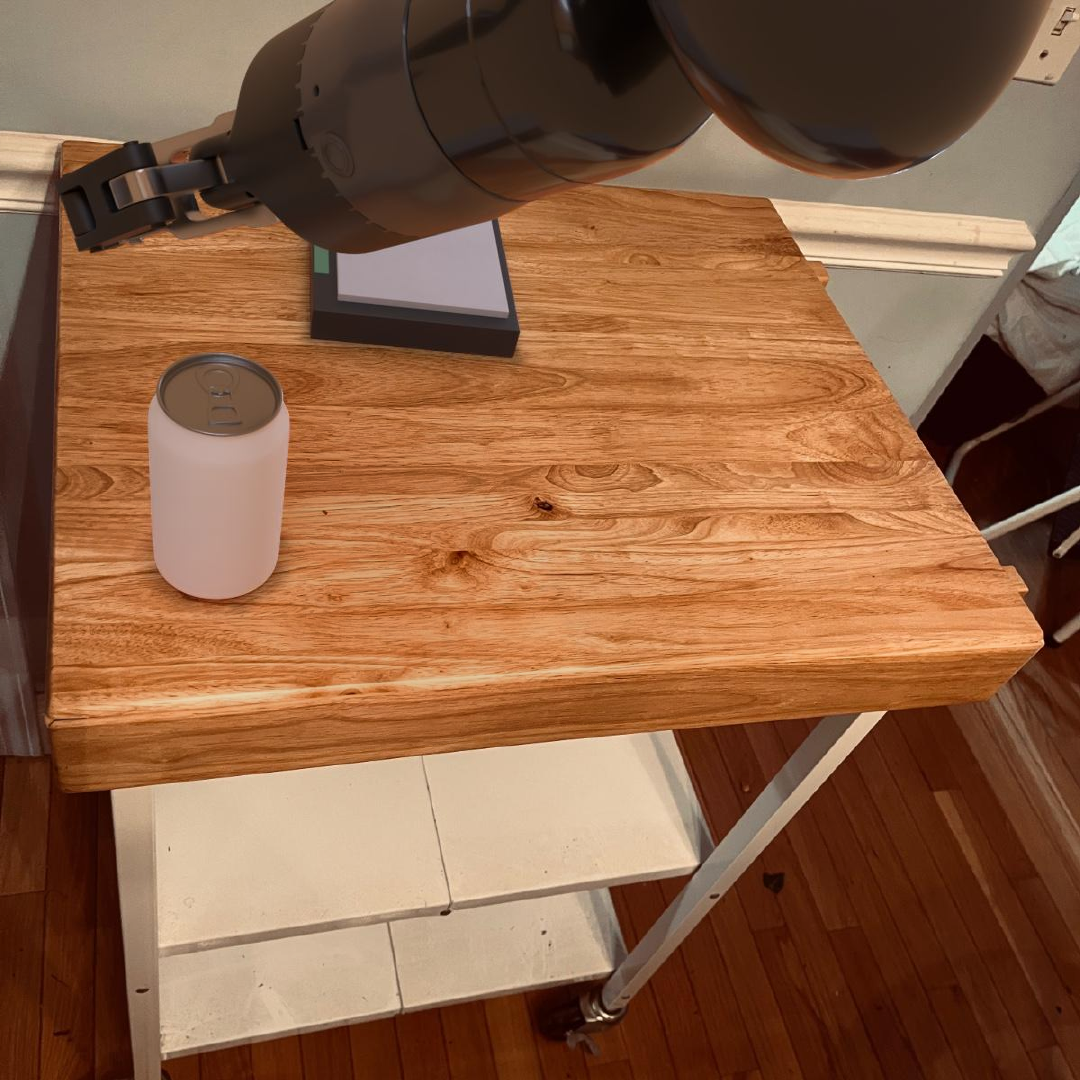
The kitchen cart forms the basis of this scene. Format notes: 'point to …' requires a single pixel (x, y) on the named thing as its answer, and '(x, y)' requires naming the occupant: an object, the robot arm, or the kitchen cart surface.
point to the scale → (419, 294)
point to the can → (217, 474)
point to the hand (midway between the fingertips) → (188, 204)
